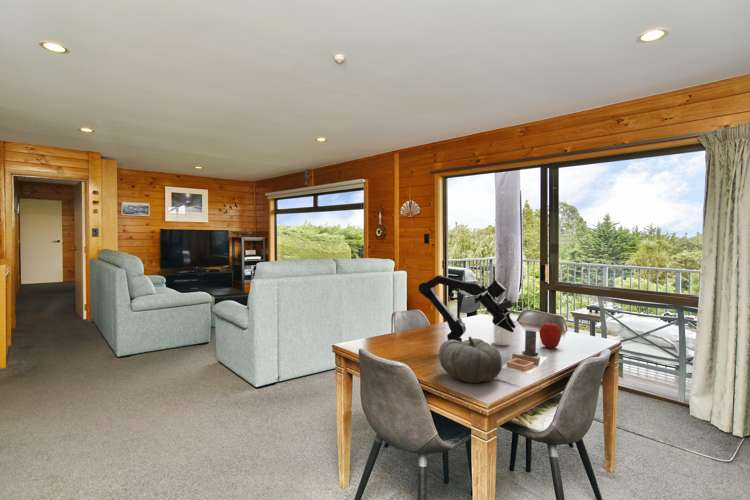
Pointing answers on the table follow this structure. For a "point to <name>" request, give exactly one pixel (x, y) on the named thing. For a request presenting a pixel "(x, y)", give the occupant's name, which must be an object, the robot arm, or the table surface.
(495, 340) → the mug
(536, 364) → the plate
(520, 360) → the collar
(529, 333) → the peg
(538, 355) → the collar
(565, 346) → the table surface
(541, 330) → the apple
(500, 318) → the robot arm
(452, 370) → the gourd
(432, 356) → the table surface
